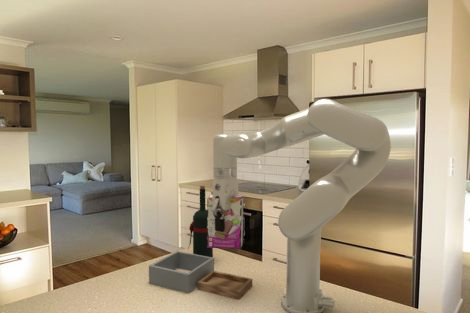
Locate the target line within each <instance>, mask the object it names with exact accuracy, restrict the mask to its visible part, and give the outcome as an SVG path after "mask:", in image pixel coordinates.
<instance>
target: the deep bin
mask: <svg viewBox="0 0 470 313" xmlns="http://www.w3.org/2000/svg"><path fill="white" fill-rule="evenodd" d="M176 269H182V270H187V271H189V272H185V271H179V270H176ZM212 271H215V258H214V257H213V258H212V257H207V256H202V255H197V254H193V253H190V252H185V251H180V250H176V251H173V252H172V253H170V254H169V255H167V256H165V257H163V258H161V259H159V260H157V261H155V262H153V263H152V264H149V265H148V283H149V284H151V285H154V286H155V285H156V286H159V287H162V288H167V289H170V290H174V291H177V292H178V291H179V292H182V293H186V294H190V293H191V292H193V291H194V290H195V289H197V282H198V281H199V280H201V279H202V278H203V277H205V276H206V275H208V274H209V273H210V272H212Z"/></svg>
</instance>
